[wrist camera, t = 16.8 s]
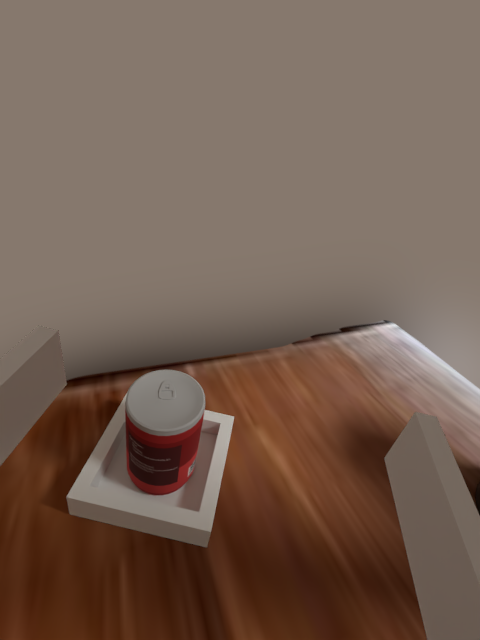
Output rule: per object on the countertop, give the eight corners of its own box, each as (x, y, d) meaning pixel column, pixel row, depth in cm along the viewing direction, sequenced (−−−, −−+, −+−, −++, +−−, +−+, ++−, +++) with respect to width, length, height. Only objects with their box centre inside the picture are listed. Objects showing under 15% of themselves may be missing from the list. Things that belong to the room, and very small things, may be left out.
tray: (230, 432, 46) (234, 416, 44) (207, 547, 34) (210, 532, 32) (127, 408, 46) (127, 391, 44) (69, 514, 34) (66, 497, 33)
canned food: (182, 427, 44) (190, 363, 38) (205, 483, 38) (219, 418, 32) (119, 444, 41) (117, 376, 34) (135, 509, 35) (135, 441, 29)
